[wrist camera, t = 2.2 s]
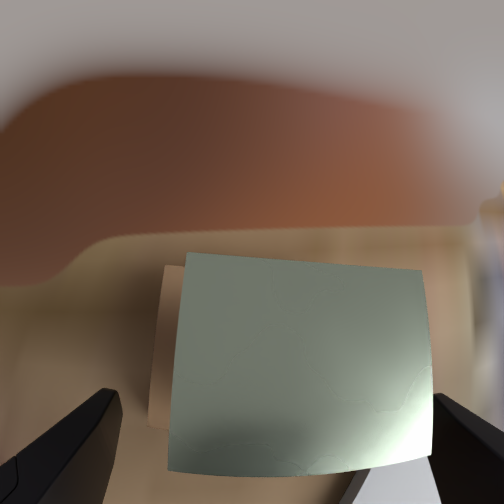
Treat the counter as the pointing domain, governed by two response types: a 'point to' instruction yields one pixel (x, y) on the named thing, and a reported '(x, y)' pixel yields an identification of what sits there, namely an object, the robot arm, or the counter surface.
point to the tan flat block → (165, 348)
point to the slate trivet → (394, 484)
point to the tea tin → (298, 368)
